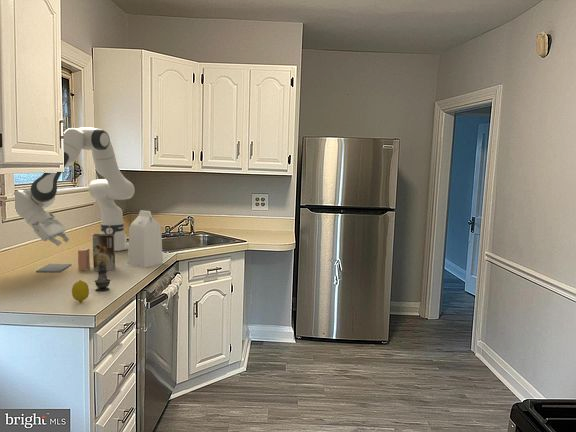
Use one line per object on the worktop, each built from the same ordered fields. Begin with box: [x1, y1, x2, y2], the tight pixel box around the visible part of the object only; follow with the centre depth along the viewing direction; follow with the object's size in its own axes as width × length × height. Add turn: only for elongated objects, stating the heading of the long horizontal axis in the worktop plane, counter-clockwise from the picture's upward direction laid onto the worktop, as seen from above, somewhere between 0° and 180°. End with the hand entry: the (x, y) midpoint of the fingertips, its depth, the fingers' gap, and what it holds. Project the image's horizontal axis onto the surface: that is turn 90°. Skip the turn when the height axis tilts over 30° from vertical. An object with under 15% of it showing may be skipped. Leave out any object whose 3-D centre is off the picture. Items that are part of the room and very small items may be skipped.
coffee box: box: [92, 233, 116, 272], centre depth 211 cm, size 9×6×16 cm
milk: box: [127, 209, 164, 268], centre depth 224 cm, size 12×12×26 cm
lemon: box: [71, 279, 90, 303], centre depth 162 cm, size 6×6×8 cm
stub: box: [77, 247, 91, 271], centre depth 210 cm, size 4×4×9 cm
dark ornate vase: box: [94, 260, 112, 293], centre depth 178 cm, size 6×6×12 cm
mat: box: [35, 263, 72, 273], centre depth 209 cm, size 14×10×1 cm
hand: (64, 242), depth 208 cm, fingers open, 8 cm apart
